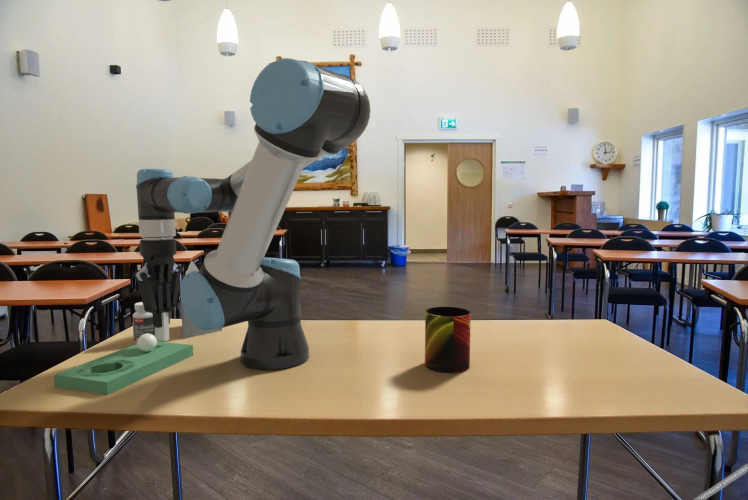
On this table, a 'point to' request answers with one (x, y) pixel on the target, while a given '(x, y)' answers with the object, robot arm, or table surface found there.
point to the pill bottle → (142, 322)
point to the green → (121, 368)
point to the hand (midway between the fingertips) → (162, 339)
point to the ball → (146, 342)
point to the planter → (187, 326)
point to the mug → (447, 339)
